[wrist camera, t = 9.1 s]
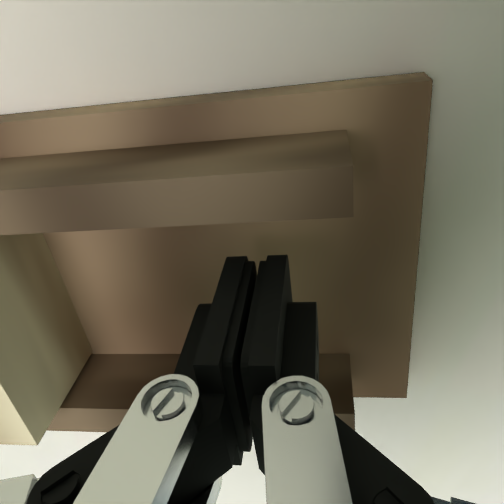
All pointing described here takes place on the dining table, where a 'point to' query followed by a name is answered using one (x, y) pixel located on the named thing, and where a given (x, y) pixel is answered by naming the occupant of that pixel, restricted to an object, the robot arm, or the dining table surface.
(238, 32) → the dining table surface
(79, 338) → the beech block
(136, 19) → the dining table surface
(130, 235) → the chute
